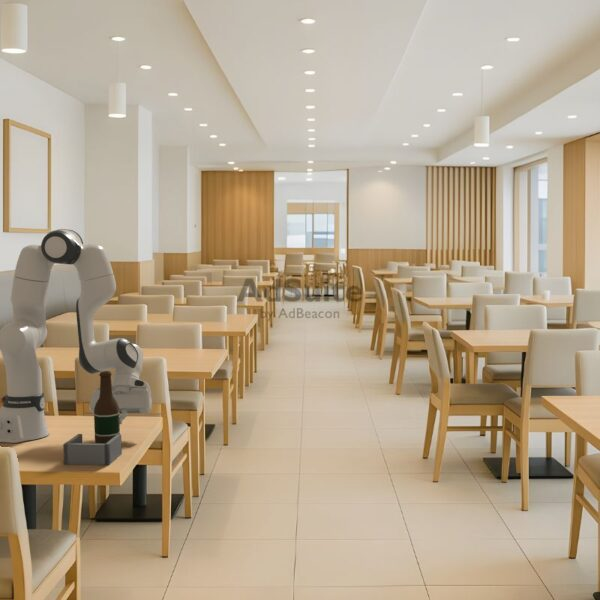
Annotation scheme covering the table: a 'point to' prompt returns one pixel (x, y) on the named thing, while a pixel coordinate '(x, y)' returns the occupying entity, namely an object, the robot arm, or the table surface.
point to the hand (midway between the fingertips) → (116, 423)
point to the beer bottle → (106, 412)
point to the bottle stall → (91, 451)
